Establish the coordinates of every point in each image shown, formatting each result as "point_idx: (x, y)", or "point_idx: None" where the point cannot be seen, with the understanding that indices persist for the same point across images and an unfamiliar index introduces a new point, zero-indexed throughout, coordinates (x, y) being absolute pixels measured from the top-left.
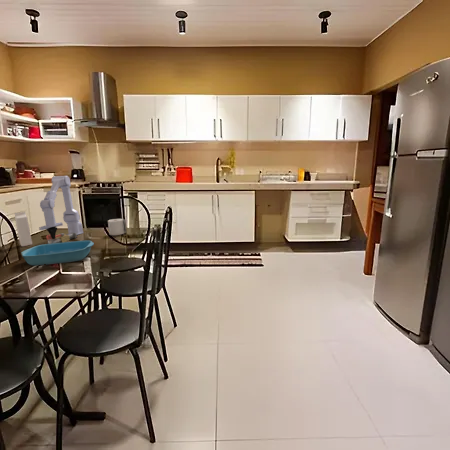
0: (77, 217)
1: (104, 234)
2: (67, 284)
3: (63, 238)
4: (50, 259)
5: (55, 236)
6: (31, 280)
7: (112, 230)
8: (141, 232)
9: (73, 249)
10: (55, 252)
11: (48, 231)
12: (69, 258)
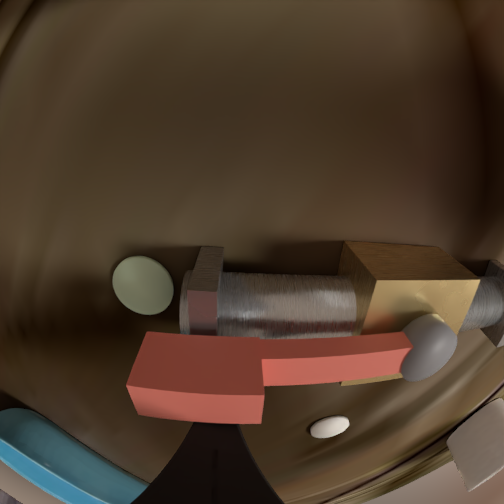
0: None
1: (487, 393)
2: None
3: None
4: (48, 475)
5: (297, 379)
6: None
7: (457, 455)
8: (451, 459)
9: None
10: (90, 457)
11: (153, 490)
12: (93, 497)
